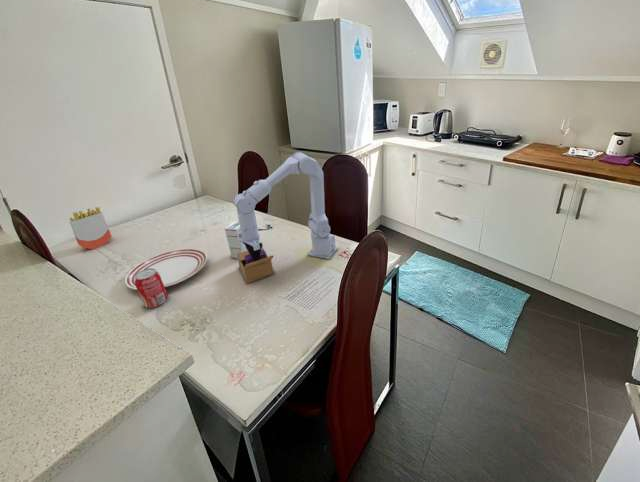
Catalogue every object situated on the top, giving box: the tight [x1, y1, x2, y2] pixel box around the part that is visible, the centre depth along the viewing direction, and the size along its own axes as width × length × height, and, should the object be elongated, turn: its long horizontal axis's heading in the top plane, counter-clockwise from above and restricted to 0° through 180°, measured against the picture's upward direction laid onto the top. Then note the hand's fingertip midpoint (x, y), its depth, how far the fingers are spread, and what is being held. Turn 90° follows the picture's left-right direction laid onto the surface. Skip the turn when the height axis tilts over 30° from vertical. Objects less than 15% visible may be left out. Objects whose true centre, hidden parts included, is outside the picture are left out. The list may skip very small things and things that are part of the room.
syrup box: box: [224, 221, 248, 259], centre depth 130 cm, size 6×6×14 cm
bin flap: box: [244, 255, 274, 269], centre depth 113 cm, size 6×10×1 cm
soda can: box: [135, 268, 168, 308], centre depth 104 cm, size 7×7×12 cm
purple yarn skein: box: [244, 249, 267, 264], centre depth 118 cm, size 7×4×3 cm, turn 125°
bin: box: [236, 246, 274, 284], centre depth 121 cm, size 12×10×7 cm
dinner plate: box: [124, 247, 208, 291], centre depth 121 cm, size 27×27×3 cm
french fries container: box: [69, 206, 112, 250], centre depth 138 cm, size 5×11×18 cm, turn 148°
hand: (255, 257), depth 117 cm, fingers closed on purple yarn skein, 3 cm apart
